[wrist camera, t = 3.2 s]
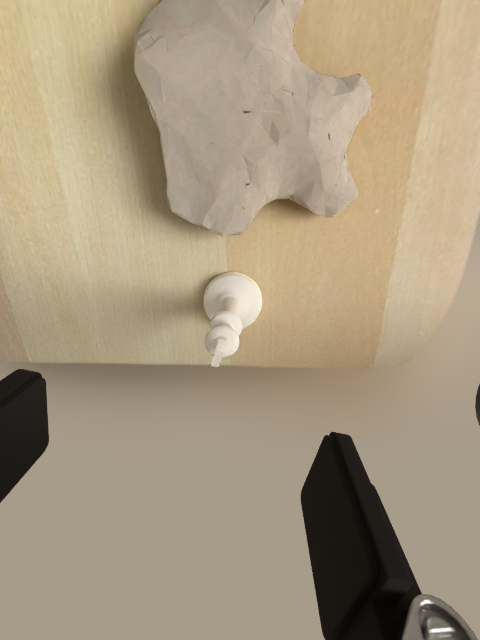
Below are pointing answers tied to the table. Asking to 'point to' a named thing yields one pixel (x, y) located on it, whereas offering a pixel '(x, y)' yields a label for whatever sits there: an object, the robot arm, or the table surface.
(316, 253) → the table surface
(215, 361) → the chess piece
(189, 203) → the stone
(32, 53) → the table surface
